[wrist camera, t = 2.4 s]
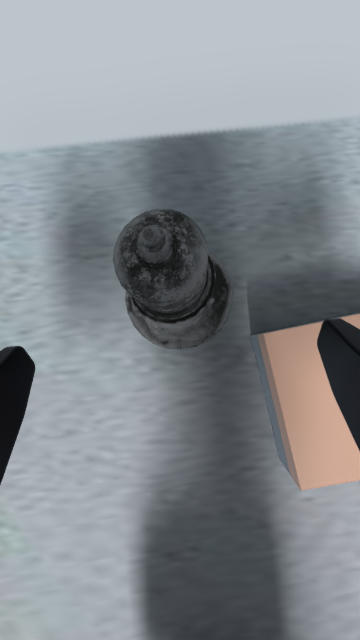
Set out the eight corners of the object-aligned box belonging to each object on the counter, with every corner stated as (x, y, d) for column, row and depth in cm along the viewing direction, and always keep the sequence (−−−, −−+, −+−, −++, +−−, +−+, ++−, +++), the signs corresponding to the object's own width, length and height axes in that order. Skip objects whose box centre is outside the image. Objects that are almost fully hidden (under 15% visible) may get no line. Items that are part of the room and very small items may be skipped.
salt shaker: (122, 308, 18) (-25, 248, 6) (177, 244, 18) (138, 63, 6) (186, 365, 18) (160, 420, 6) (244, 299, 18) (339, 213, 6)
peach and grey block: (408, 435, 16) (466, 461, 13) (279, 459, 17) (301, 490, 13) (373, 309, 17) (418, 301, 13) (250, 335, 17) (263, 334, 14)
